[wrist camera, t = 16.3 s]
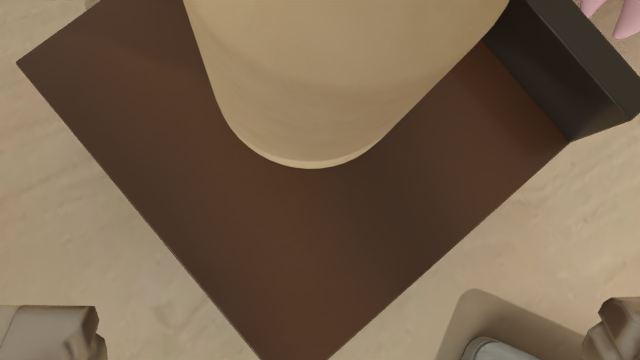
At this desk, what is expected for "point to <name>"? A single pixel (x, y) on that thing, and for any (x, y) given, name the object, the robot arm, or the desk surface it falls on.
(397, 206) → the box
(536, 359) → the phone
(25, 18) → the desk surface
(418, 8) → the candle
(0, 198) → the desk surface
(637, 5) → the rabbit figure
